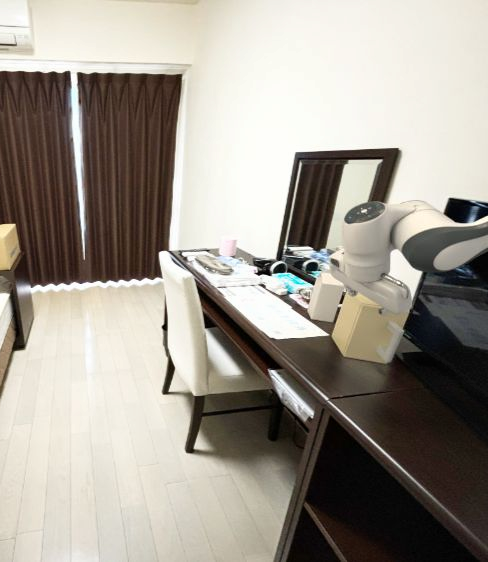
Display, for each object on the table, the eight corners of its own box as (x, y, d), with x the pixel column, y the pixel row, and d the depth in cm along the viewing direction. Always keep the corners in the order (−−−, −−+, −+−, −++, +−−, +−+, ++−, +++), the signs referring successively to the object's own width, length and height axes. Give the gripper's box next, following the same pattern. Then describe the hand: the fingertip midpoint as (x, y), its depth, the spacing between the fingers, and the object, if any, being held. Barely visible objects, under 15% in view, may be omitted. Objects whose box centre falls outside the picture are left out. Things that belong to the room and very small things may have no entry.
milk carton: (332, 323, 113) (348, 275, 106) (311, 319, 115) (325, 272, 108) (327, 314, 119) (341, 268, 112) (306, 311, 121) (319, 266, 114)
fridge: (384, 362, 91) (407, 309, 85) (342, 354, 95) (361, 303, 88) (369, 342, 101) (388, 293, 94) (331, 336, 104) (347, 288, 97)
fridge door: (396, 375, 86) (421, 320, 79) (350, 367, 89) (371, 313, 82) (385, 362, 91) (407, 309, 84) (343, 355, 94) (361, 303, 88)
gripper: (422, 279, 66) (419, 321, 73) (344, 243, 83) (347, 280, 90) (395, 293, 66) (394, 333, 73) (323, 254, 84) (327, 290, 91)
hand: (367, 303), depth 82 cm, fingers open, 8 cm apart
